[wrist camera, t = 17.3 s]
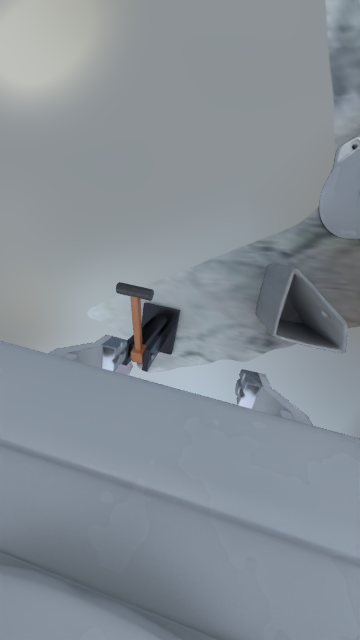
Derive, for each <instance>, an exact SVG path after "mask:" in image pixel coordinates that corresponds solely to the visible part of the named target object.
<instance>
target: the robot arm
mask: <svg viewBox="0 0 360 640" xmlns="http://www.w3.org/2000/svg"><path fill="white" fill-rule="evenodd" d="M352 146H354V147H355V149H354V150H353V149H352ZM319 213H320V217H321V220H322V222H323V224H324V226H325V227H326V228H327V229H328V230H329V231H330V232H331V233H332V234H334V235H336V236H338V237H341V238H345V239H360V136H358V137H356V138H354V139H352V140H350V141H348V142H346V143H345V144H343V145H342V146H341V147H339V149H338V150H337V152H336V155H335V159H334V164H333V169H332V171H331V173H330V175H329V177H328V179H327V180H326V182H325V184H324V186H323V189H322V192H321V195H320V200H319ZM126 346H127V340H124V339H121V338H117V337H113V336H110V335H105V336H104V337H102V338H101V339H99V340H98V341H96V342H95V343H87V344H81V345H76V346H70V347H64V348H58V349H55V350H53V351H52V352H50V353H48V354H47V353H43V352H40V351H36V350H32V349H29V348H25V347H21V346H18V345H14V344H10V343H7V342H3V341H0V640H360V438H356V437H352V436H349V435H345V434H342V433H338V432H334V431H330V430H327V429H323V428H320V427H316V426H313V424H312V423H311V421H310V419H309V418H308V416H307V415H306V414H304V413H303V412H302V411H300V410H299V409H298V408H297V407H295V406H294V405H293V404H291V403H290V402H289V401H288V400H287V399H285V398H284V397H283V396H281V395H280V394H279V393H278V392H277V391H275V390H273V389H272V388H271V386H270V383H269V381H268V379H267V377H266V375H265V374H260V373H257V372H252V371H248V370H243V369H242V370H241V372H240V374H239V375H240V379H239V380H237V383H236V389H235V390H236V395H237V396H238V397H237V404H238V405H235V404H231V403H227V402H223V401H220V400H216V399H213V398H209V397H205V396H202V395H198V394H194V393H190V392H187V391H183V390H180V389H176V388H172V387H168V386H164V385H161V384H158V383H153V382H150V381H146V380H143V379H139V378H135V377H132V376H128V375H125V374H121V373H117V372H115V370H116V369H117V368H118V365H119V364H122V363H123V361H124V359H125V356H126V350H125V347H126Z"/></svg>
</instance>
